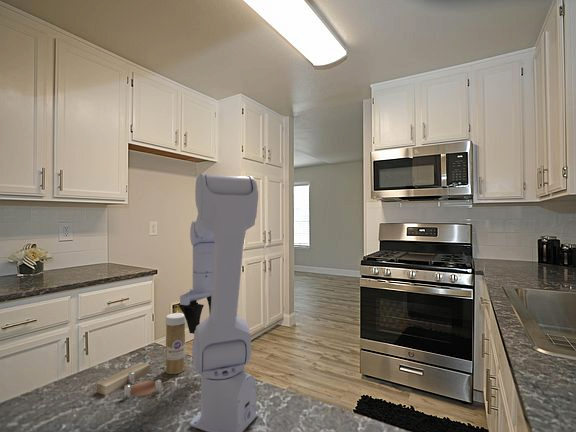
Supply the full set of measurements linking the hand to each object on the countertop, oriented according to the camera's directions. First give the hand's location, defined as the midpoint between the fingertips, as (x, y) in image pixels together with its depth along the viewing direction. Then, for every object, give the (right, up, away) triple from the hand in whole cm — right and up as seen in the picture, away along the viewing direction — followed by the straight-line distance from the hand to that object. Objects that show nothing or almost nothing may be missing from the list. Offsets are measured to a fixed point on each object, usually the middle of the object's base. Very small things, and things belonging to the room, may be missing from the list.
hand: (204, 327), depth 75 cm
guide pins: (-12, -10, -9) cm, 18 cm away
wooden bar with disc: (-13, -10, -7) cm, 18 cm away
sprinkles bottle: (-7, -11, +1) cm, 13 cm away
